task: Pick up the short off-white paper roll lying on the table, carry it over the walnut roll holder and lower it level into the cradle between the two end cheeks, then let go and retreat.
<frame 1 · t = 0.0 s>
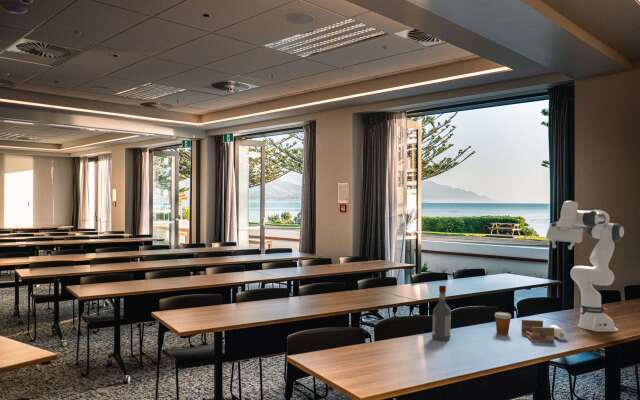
hand: (561, 248, 292), 52 cm above the table, tool tilted 20°, fingers open, 8 cm apart
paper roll: (557, 332, 289), point 3 cm above the table
disposable coffee cup: (502, 334, 294), on the table
liquor: (441, 339, 279), on the table
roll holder: (537, 337, 286), on the table
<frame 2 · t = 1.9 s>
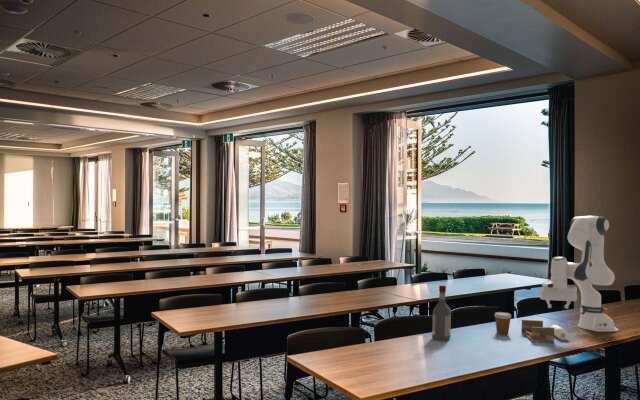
hand: (558, 308, 289), 17 cm above the table, tool pointing down, fingers open, 8 cm apart
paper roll: (559, 332, 289), point 3 cm above the table, tilted 16°
everything else where it was.
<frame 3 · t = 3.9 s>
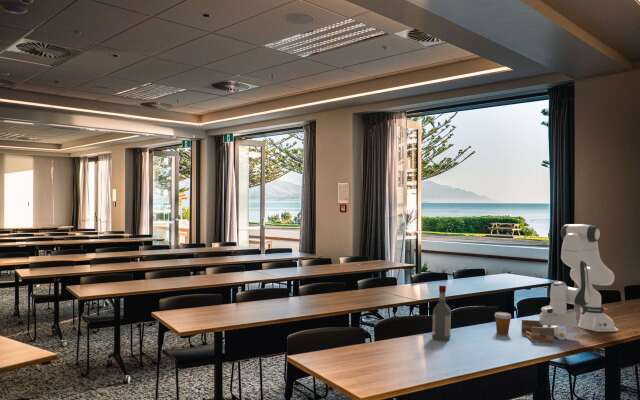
hand: (557, 333, 289), 2 cm above the table, tool pointing down, fingers closed on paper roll, 6 cm apart
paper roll: (557, 332, 289), point 3 cm above the table, tilted 13°, touching gripper
everything else where it was.
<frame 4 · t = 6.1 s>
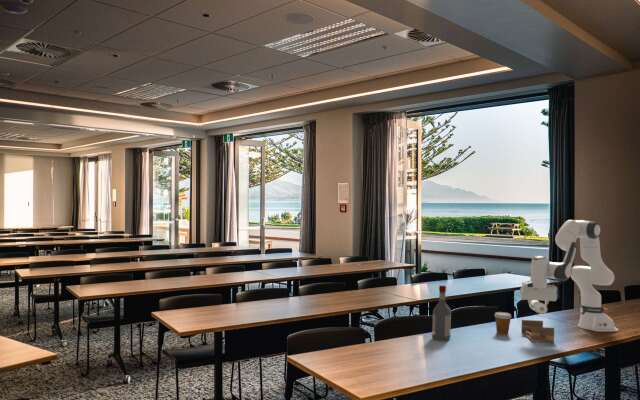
hand: (537, 307, 286), 17 cm above the table, tool pointing down, fingers closed on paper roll, 6 cm apart
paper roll: (538, 306, 286), point 18 cm above the table, tilted 13°, touching gripper
everything else where it was.
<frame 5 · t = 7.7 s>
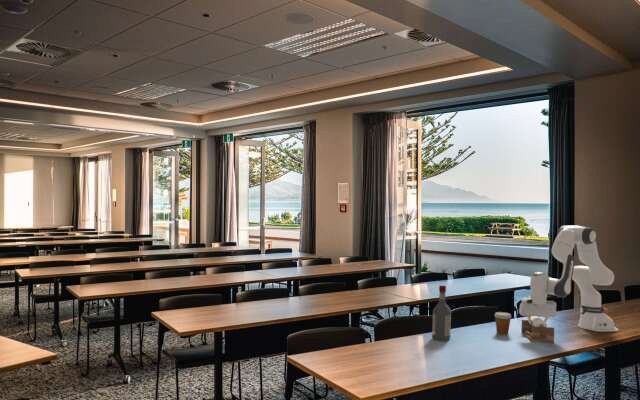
hand: (537, 324, 286), 8 cm above the table, tool pointing down, fingers closed on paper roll, 6 cm apart
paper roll: (537, 322, 286), point 9 cm above the table, tilted 13°, touching gripper
everything else where it was.
when the fingers open (5 cm above the table, at t = 8.8 s): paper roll drops 2 cm, resting on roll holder.
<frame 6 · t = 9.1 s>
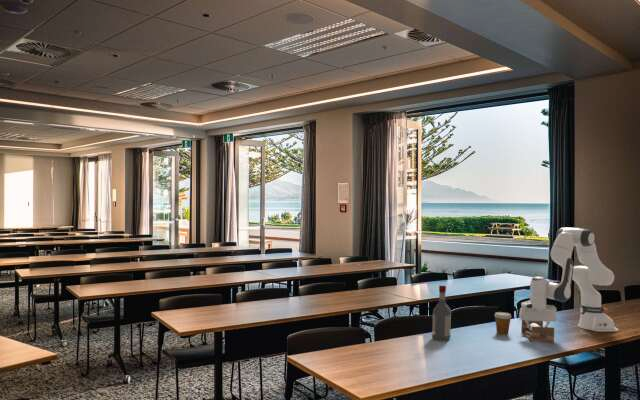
hand: (537, 328, 286), 5 cm above the table, tool pointing down, fingers open, 8 cm apart
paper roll: (537, 330, 286), point 4 cm above the table, tilted 12°, touching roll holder
everything else where it was.
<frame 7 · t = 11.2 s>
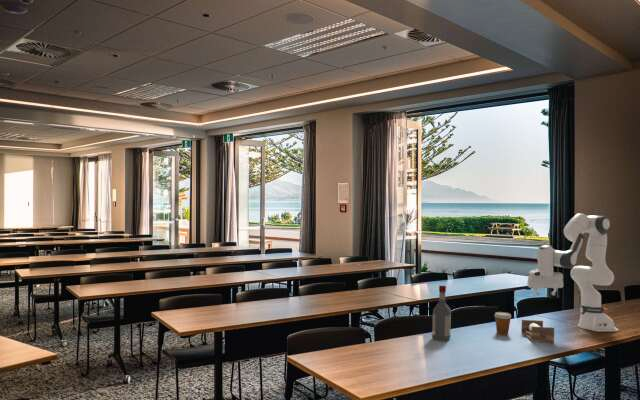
hand: (545, 295, 298), 23 cm above the table, tool pointing down, fingers open, 8 cm apart
nothing on the table moved.
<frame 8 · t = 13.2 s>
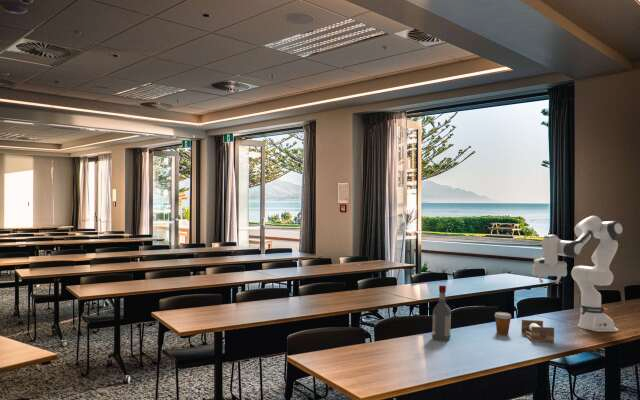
hand: (549, 283, 306), 29 cm above the table, tool pointing down, fingers open, 8 cm apart
nothing on the table moved.
at the end: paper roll inside the target area on the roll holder (0.1 cm from its centre), point 4.2 cm above the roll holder's base; the gripper is holding nothing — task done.
